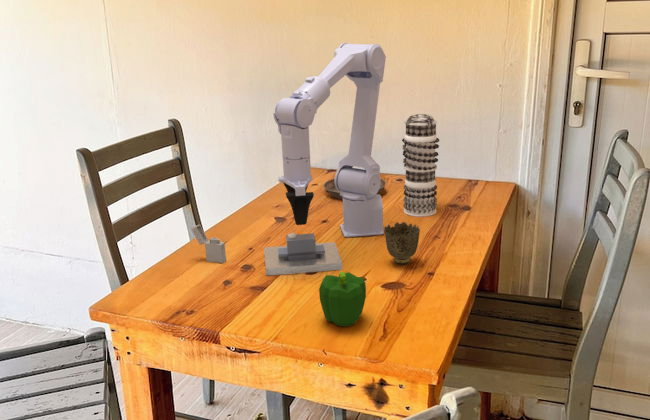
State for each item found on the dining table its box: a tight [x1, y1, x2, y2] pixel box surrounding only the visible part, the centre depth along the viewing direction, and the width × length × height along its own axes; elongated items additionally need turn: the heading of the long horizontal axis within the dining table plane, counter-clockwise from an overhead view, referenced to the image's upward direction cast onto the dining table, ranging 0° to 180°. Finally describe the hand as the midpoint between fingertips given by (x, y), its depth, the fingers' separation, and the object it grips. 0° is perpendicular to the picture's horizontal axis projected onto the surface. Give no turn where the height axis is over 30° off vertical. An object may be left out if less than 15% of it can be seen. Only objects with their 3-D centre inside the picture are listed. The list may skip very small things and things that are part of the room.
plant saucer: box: [323, 178, 387, 200], centre depth 193 cm, size 18×18×3 cm
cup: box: [383, 221, 421, 266], centre depth 144 cm, size 8×7×8 cm
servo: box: [278, 232, 325, 261], centre depth 147 cm, size 10×4×6 cm, turn 96°
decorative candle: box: [401, 113, 440, 218], centre depth 172 cm, size 9×9×25 cm
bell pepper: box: [318, 271, 367, 327], centre depth 120 cm, size 8×8×10 cm
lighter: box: [191, 223, 227, 264], centre depth 149 cm, size 7×2×8 cm, turn 70°
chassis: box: [263, 241, 343, 277], centre depth 147 cm, size 16×12×2 cm
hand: (299, 218), depth 145 cm, fingers open, 7 cm apart
